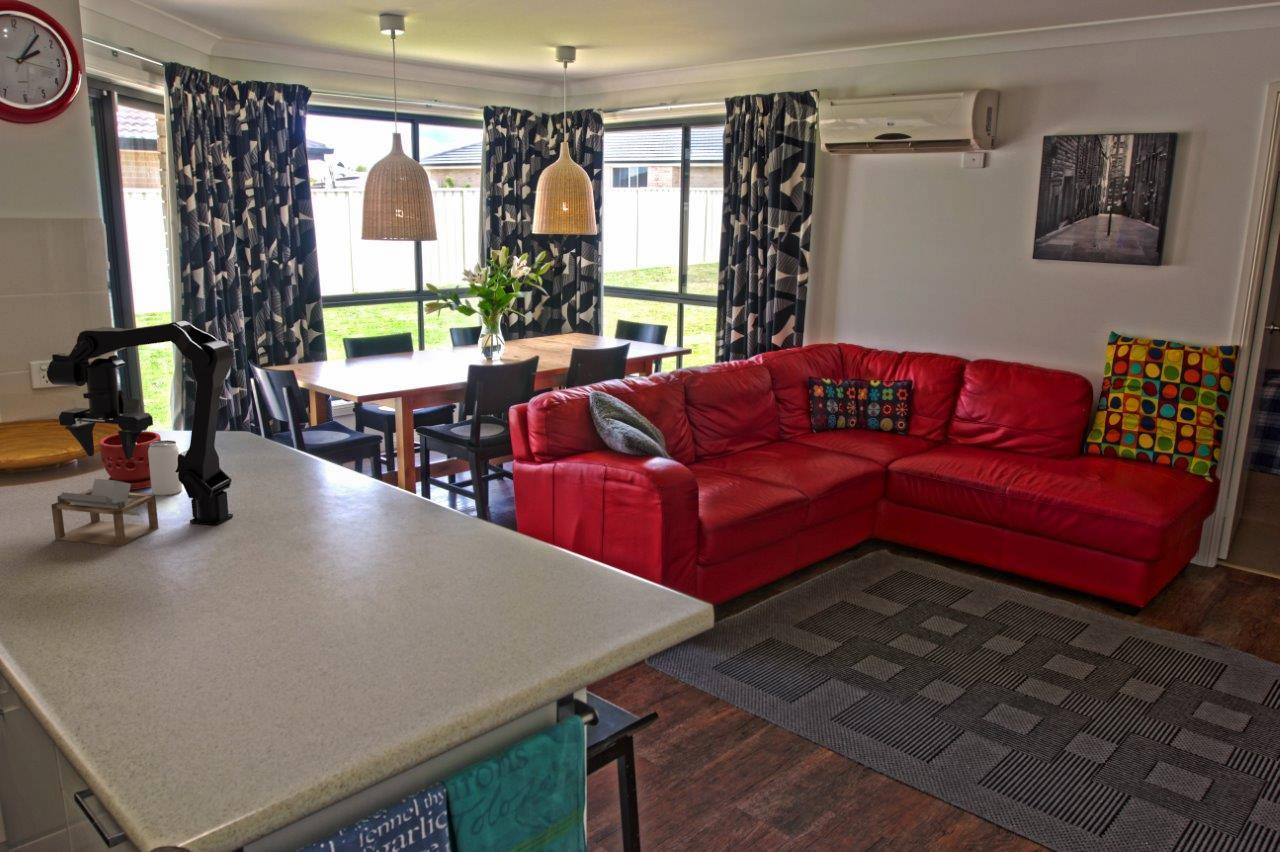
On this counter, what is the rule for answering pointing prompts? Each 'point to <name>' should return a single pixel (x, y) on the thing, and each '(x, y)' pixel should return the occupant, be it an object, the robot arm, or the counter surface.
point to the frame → (104, 530)
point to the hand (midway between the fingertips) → (110, 457)
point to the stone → (111, 489)
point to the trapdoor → (94, 501)
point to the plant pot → (131, 469)
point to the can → (164, 468)
